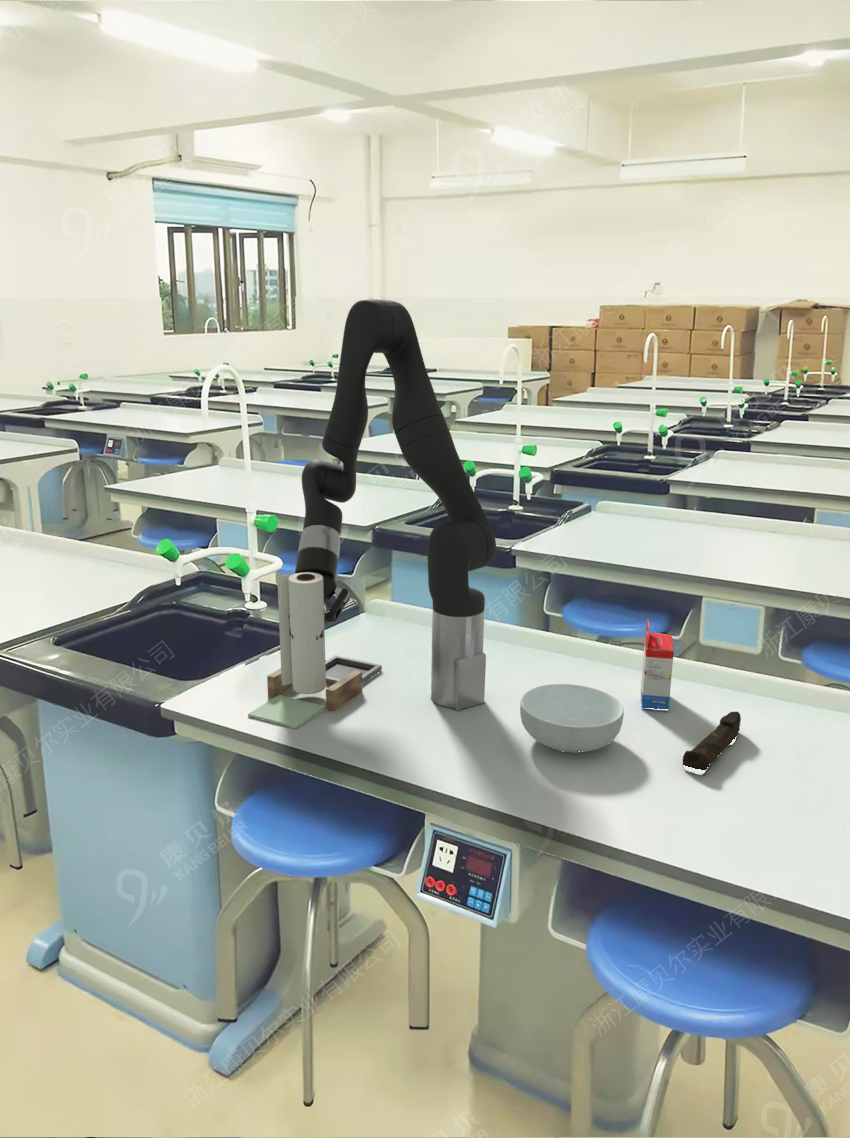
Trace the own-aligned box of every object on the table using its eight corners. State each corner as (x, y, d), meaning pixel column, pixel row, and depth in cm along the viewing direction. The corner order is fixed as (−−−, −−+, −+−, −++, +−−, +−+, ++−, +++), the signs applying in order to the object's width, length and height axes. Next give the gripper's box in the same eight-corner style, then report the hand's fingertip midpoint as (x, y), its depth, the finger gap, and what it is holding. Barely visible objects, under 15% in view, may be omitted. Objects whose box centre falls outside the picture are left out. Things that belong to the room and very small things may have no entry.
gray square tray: (335, 660, 185) (335, 655, 184) (381, 670, 180) (381, 665, 180) (305, 679, 176) (305, 673, 175) (353, 690, 171) (353, 684, 171)
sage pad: (278, 697, 168) (278, 694, 168) (325, 708, 163) (325, 706, 163) (248, 716, 160) (248, 713, 160) (296, 728, 156) (296, 726, 156)
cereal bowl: (598, 777, 141) (601, 735, 139) (501, 750, 150) (502, 710, 148) (635, 735, 155) (638, 696, 153) (544, 712, 164) (546, 675, 162)
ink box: (669, 712, 164) (676, 635, 160) (640, 710, 165) (647, 632, 161) (666, 693, 172) (673, 619, 168) (639, 691, 173) (646, 616, 169)
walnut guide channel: (299, 677, 177) (298, 657, 176) (362, 691, 171) (362, 671, 170) (267, 696, 168) (267, 675, 167) (333, 712, 162) (333, 691, 161)
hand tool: (704, 780, 142) (708, 752, 140) (680, 771, 144) (683, 744, 143) (753, 738, 155) (756, 713, 154) (730, 731, 158) (733, 706, 157)
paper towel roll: (333, 688, 167) (330, 576, 161) (307, 698, 163) (303, 584, 157) (307, 676, 172) (303, 567, 165) (281, 686, 168) (276, 574, 161)
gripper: (276, 543, 168) (262, 630, 160) (353, 546, 167) (342, 633, 159) (284, 563, 175) (270, 647, 167) (358, 566, 173) (348, 651, 165)
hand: (305, 640), depth 163 cm, fingers closed on paper towel roll, 3 cm apart
